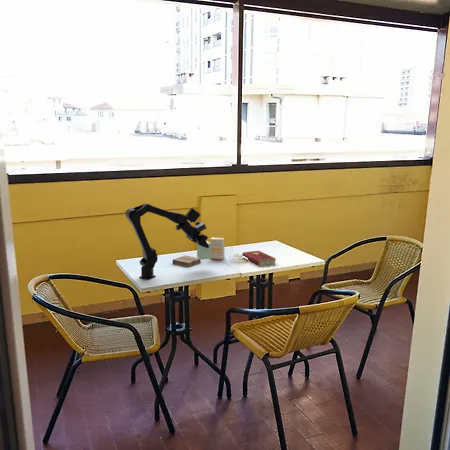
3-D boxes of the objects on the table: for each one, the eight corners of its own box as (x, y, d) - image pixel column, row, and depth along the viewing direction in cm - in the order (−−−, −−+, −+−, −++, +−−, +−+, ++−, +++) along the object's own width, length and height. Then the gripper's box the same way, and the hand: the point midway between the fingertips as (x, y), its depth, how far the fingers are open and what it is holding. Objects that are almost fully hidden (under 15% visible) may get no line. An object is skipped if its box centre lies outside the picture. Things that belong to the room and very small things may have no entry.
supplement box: (224, 258, 288) (224, 237, 285) (222, 260, 283) (222, 239, 281) (212, 257, 290) (212, 236, 287) (209, 259, 285) (209, 238, 283)
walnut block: (188, 267, 268) (188, 263, 268) (172, 264, 275) (172, 259, 274) (200, 263, 278) (200, 258, 277) (185, 260, 284) (185, 255, 284)
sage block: (201, 259, 259) (201, 244, 257) (197, 257, 264) (197, 241, 262) (211, 258, 262) (211, 243, 260) (206, 255, 267) (206, 240, 265)
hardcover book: (258, 267, 271) (258, 260, 270) (242, 258, 289) (242, 252, 288) (276, 264, 276) (276, 258, 275) (258, 256, 294) (258, 250, 293)
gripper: (204, 221, 248) (222, 239, 255) (191, 215, 265) (208, 232, 272) (191, 236, 246) (209, 254, 253) (178, 230, 263) (196, 246, 270)
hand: (206, 246), depth 262 cm, fingers closed on sage block, 6 cm apart
